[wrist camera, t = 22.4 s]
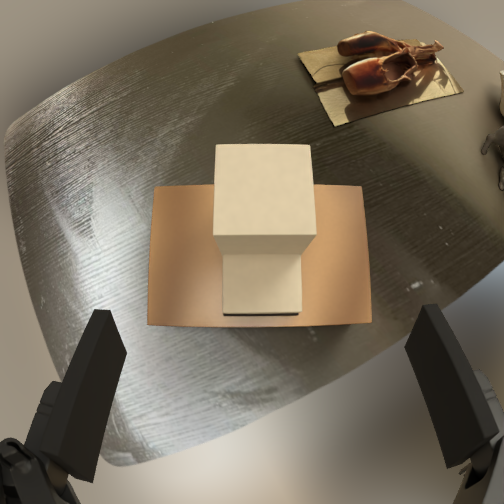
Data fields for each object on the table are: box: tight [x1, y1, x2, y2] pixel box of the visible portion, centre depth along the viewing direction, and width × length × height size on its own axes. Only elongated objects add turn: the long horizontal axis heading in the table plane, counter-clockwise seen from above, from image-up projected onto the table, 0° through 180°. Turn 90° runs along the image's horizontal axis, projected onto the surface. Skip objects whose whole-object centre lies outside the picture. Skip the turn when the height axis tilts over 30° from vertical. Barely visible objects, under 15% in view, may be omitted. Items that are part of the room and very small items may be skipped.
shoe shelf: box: [147, 185, 372, 327], centre depth 32 cm, size 20×13×6 cm, turn 90°
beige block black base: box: [213, 144, 317, 316], centre depth 24 cm, size 11×6×10 cm, turn 0°
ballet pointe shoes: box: [298, 31, 464, 126], centre depth 37 cm, size 14×7×28 cm
